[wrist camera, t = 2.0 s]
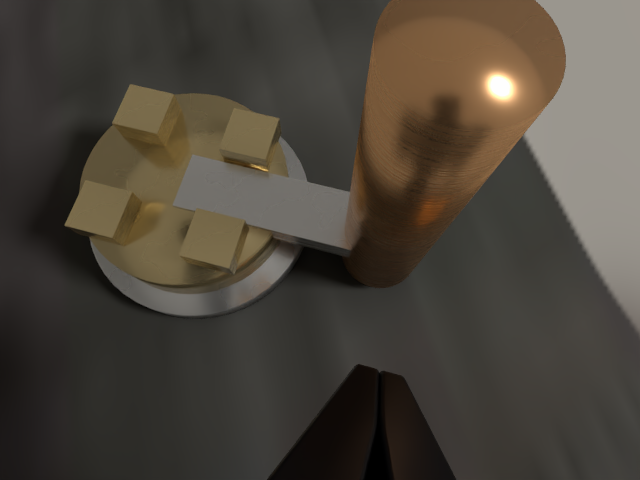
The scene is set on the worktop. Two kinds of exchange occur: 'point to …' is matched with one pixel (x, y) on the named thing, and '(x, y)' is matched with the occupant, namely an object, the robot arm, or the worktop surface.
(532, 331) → the worktop surface
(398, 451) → the robot arm
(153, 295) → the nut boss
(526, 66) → the bronze dome and bar
